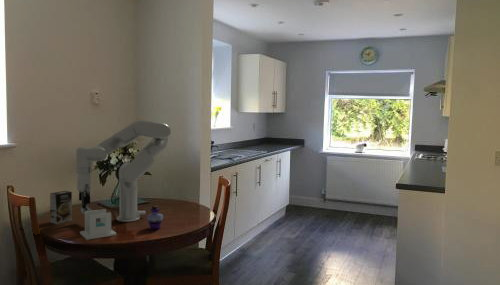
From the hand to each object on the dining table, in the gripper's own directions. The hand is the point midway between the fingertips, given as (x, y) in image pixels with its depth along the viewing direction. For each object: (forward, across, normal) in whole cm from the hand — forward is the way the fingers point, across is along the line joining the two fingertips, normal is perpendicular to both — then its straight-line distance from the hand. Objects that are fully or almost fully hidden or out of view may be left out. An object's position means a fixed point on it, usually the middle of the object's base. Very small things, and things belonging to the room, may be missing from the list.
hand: (84, 201), depth 217 cm
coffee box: (+11, -8, -10) cm, 17 cm away
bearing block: (+11, +24, 0) cm, 27 cm away
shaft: (+6, +9, 0) cm, 11 cm away
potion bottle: (+11, +30, +27) cm, 42 cm away
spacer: (+8, +23, 0) cm, 24 cm away
